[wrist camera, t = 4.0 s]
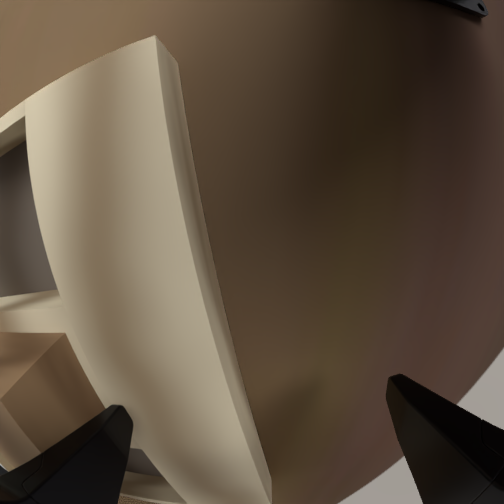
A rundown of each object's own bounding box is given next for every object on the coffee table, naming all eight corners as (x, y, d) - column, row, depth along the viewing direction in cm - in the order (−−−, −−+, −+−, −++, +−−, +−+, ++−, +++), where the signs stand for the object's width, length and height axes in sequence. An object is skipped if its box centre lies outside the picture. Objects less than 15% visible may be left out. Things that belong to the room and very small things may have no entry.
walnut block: (65, 332, 8) (0, 399, 4) (123, 435, 10) (94, 503, 6) (-6, 331, 9) (-56, 374, 5) (45, 419, 10) (12, 466, 6)
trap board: (177, 62, 8) (115, -10, 3) (271, 478, 14) (272, 542, 9) (-68, 208, 9) (-114, 223, 5) (38, 446, 15) (17, 480, 10)
